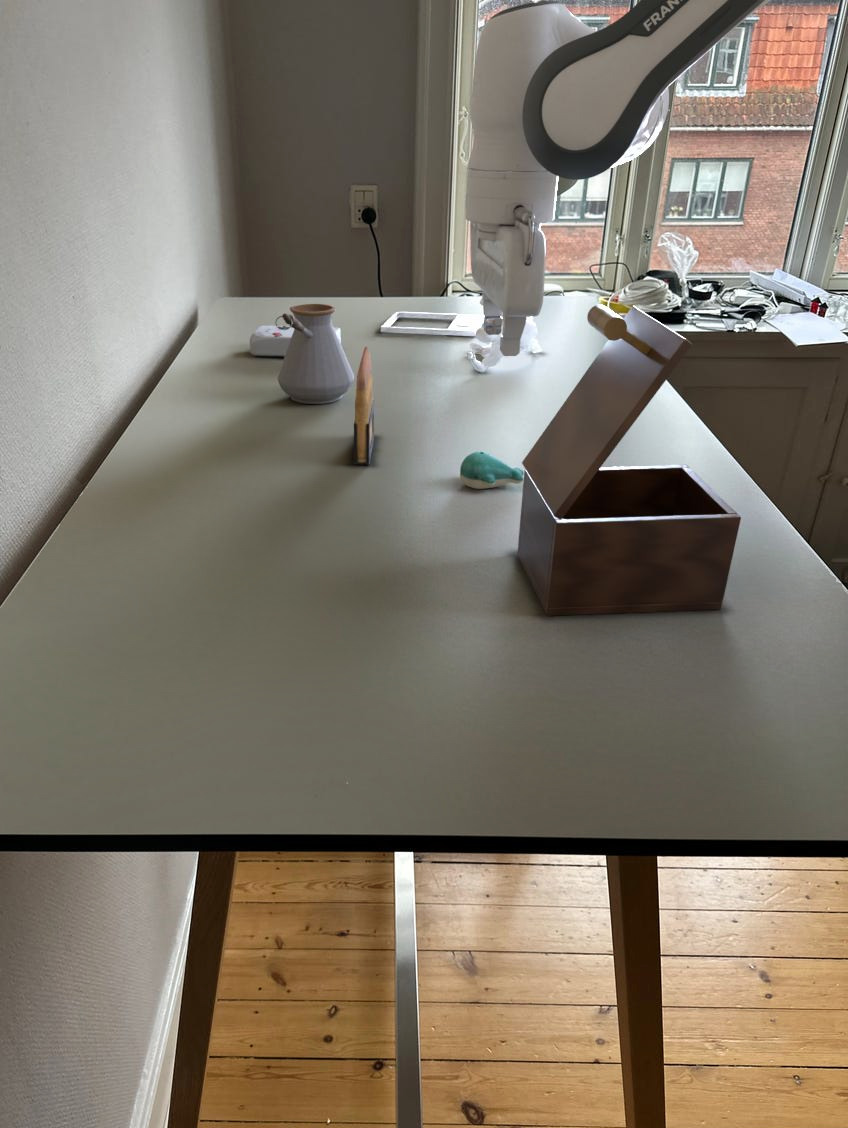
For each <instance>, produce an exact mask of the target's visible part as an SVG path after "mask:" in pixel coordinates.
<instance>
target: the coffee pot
mask: <svg viewBox="0 0 848 1128" xmlns="http://www.w3.org/2000/svg"><path fill="white" fill-rule="evenodd" d="M289 310H290V312H291V313H292V314H289V313H282V315H280V316H278V317H276V319H275V322H274V324H275V326H277V327H278V326H279V325H278V324H277V322H278V320H279V319H280V318H282V319H283V321H284V323H285V324H287V325H288V326H290V327H292V328H294V332H293V334H292V337H291V340H290V343H289V346H288V349H287V352H286V354H285V357H283V360H282V363H281V366H280V368H279V372H278V375H277V378H276V379H277V382H278V385H279V387H280V389H281V390H282V391H283V392H284V393H285V394H286V395H288V396H290V399H291V400H292V401H293V402H297V403H301V404H309V405H319V404H321V405H322V404H330V403H334V402H336V401H337V402H338V401H339V400H341V399H342V398H343V395H344V394H346V393H347V392H348V391H349V390H350V389H351V388H352V385H353V383H354V380H355V375H354V372H353V369H352V367H351V365H350V363H349V360H348V358H347V355H346V354H345V350H344V348H343V346H342V343H340V341H339V339H338V337H337V334H336V332H335V330H334V328H335V326H334V325H333V323H332V321H333V315H334V313H335V312H336V310H337V308H336V307H335V305H332V304H326V303H304V304H298V305H294V306H290V307H289ZM290 327H289V328H290ZM278 328H279V327H278ZM289 328H287V329H289ZM279 329H281V328H279ZM287 329H281V330H287Z"/></svg>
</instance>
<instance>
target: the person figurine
mask: <svg viewBox="0 0 848 1128" xmlns="http://www.w3.org/2000/svg"><path fill="white" fill-rule="evenodd" d="M479 304H480V305H481V306H483V300H482V298H481V299H480V300H479ZM501 317H502V331H503V322H504V321H503V312H501ZM483 328H484V326H481V327H480V328H478V329H477V331H476V335H475V339H476V340H477V341H478V342H480V343H483V344H486V345H487V346H484V345H481V344H477V343H473V342H471V343H469V348H470V350H471V351H468V352H466V355H465V357H466V358H467V359H468V360H469V362H470V363H471V365H472V367H473V368H474V369H475V370H476V371H477V372H478V373H485V371H486V370H487V369H489V368H492V367H495V366H497V365H498V364H499V363H500V362H501V360H502V359H504V358H508V357H510V356H504V355H503V354H502V353H501V351H500V336H501V335H502V331H501V333H500V334H499V335H488V334H487V333H486V332H485V331H484V329H483ZM537 335H538V329H537V325H536V323H535V322H534V321H533V317H526V324H525V327H524V330H523V333H522V336H521V340H520V351H519V354H518V355H520V354H524V353H527V352H528V351H529V350H530V349H531V348H532V353H533V354H539V353H540V352H542V351H543V350H542V348H541V347H540V342H539V341H538V340H537ZM476 354H480V356H481V357H482V358H483V359H482V360H481V361H480V360H478V359H476V358H477V355H476Z"/></svg>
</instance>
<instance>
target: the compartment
mask: <svg viewBox="0 0 848 1128" xmlns="http://www.w3.org/2000/svg"><path fill="white" fill-rule="evenodd" d="M523 473H524V475H523V482H522V483H523V484H522V496H521V506H520V517H519V518H520V519H519V531H518V541H517V542H518V543H517V556H518V558H519V560H520V563H521V564H522V567H523V569H524V571H525V573H526V575H527V578H528V579H529V582H530V584H531V585H532V588H533V590H534V591H535V594H536V596H537V598H538V600H539V602H540V604H541V606H542V608H543V611H544V613H545V615H546V616H547V617H555V616H580V615H604V614H632V613H656V612H659V613H660V612H684V611H685V612H686V611H710V610H712V611H713V610H722V608H723V603H724V598H725V593H726V589H727V584H728V579H729V574H730V571H731V570H730V569H731V565H732V561H733V556H734V551H735V547H736V543H737V538H738V533H739V528H740V524H741V519H742V517H741V516H740V514H739V513H738V512H737V511H736V510H735V509H733V508H732V506H730V505H729V503H727V502H726V501H725V500H724V499H723V498H722V497H721V496H720V495H719V494H717V492H716V491H715V490H714V489H712V488H711V486H709V484H707V483H706V482H705V481H704V479H702V478H701V477H700V476H699V475H698V474H697V473H696V472H695V471H693V470H692V468H691V467H689V465H687V464H670V465H668V464H666V465H665V464H664V465H634V466H633V465H632V466H630V465H629V466H601V467H600V469H599V470H598V471H597V473H596V474H595V475H594V477H593V478H592V479H591V481H590V482H589V483H588V485H587V486H586V487H585V489H584V490H583V491H582V493H581V494H580V495H579V497H578V498H577V499H576V501H575V502H574V503H573V505H572V506H571V507H570V509H569V510H568V511H567V513H566V514H565V515H564V517H563V518H562V519H561V520H560V519H558V518H557V517H555V516H554V515H553V514H552V512H551V510H550V509H549V507H548V505H547V504H546V502H545V500H544V499H543V497H542V495H541V494H540V492H539V490H538V489H537V487H536V485H535V484H534V482H533V481H532V479H531V477H530V476H529V474H528V472H527V471H526V469H524V471H523Z"/></svg>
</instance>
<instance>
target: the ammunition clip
mask: <svg viewBox="0 0 848 1128" xmlns="http://www.w3.org/2000/svg"><path fill="white" fill-rule="evenodd" d="M355 390H356V391H355V400H354V423H353V465H356V466H359V465H361V466H362V465H363V466H364V465H365V466H370V463H371V457H372V452H373V446H374V440H375V401H374V383H373V375H372V362H371V355H370V350H369V348H368V346H365V347H364V348H363V352H362V356H361V359H360V363H359V367H358V370H357V374H356V389H355Z"/></svg>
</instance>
